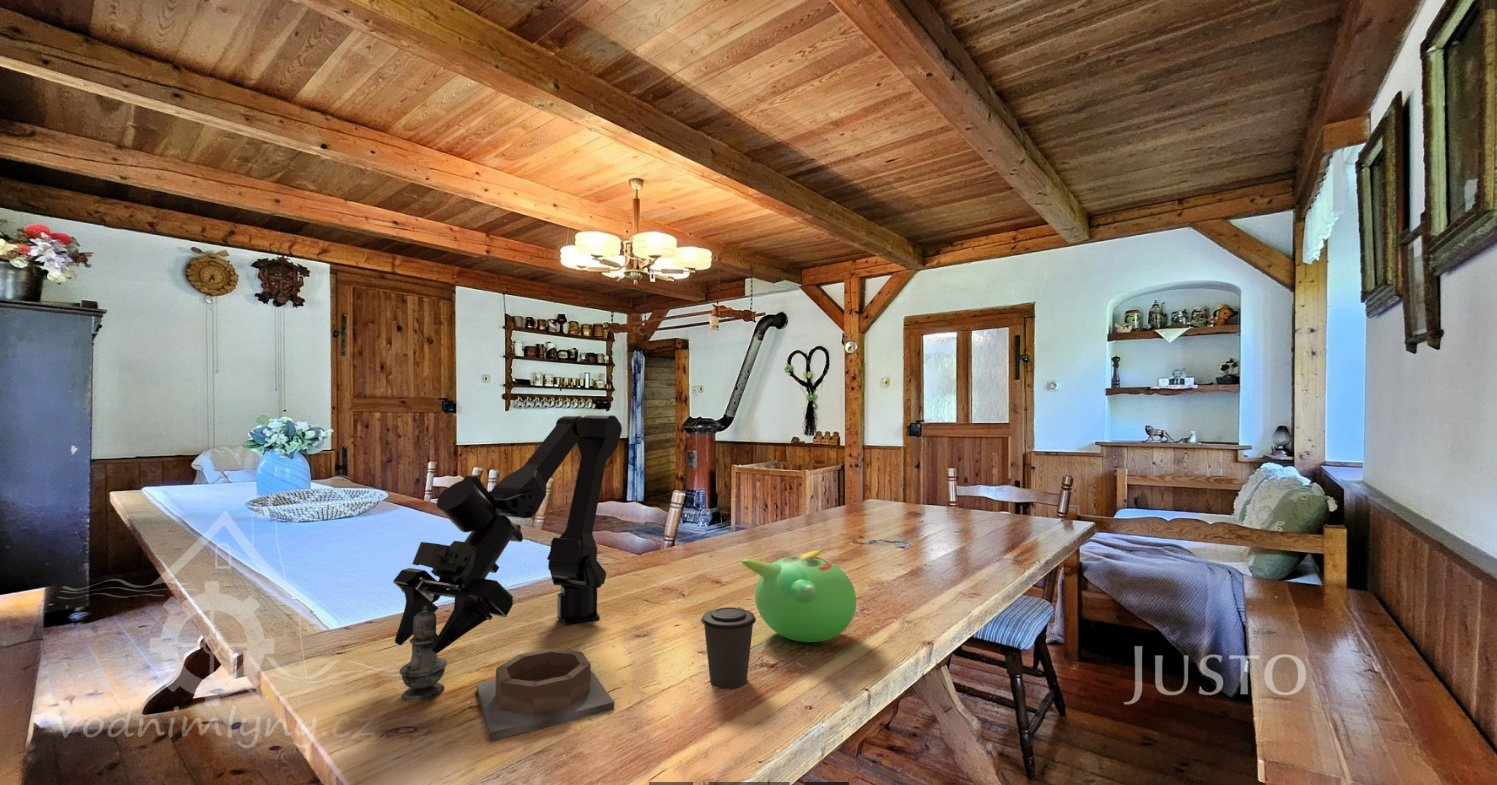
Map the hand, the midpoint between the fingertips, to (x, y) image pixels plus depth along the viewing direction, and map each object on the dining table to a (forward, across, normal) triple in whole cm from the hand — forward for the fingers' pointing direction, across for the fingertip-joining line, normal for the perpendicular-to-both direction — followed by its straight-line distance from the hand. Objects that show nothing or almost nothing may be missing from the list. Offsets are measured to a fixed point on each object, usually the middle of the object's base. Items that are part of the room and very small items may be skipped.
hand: (415, 647), depth 81 cm
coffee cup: (-10, +38, +20) cm, 44 cm away
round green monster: (-24, +43, +34) cm, 60 cm away
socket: (0, +17, +9) cm, 19 cm away
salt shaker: (+4, 0, +6) cm, 7 cm away
